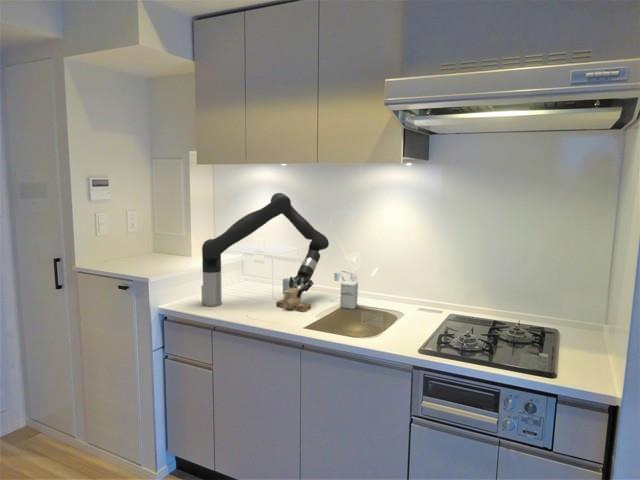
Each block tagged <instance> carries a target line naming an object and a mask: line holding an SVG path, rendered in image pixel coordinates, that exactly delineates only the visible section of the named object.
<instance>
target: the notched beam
mask: <svg viewBox="0 0 640 480" xmlns="http://www.w3.org/2000/svg"><path fill="white" fill-rule="evenodd" d="M275 305H276V307H278V308H282V309H287V310H293V311H297V312H301V313H305V312H308V311H310V310H311V309H312V304H311V303H307V302H306V303H304V302H301V304H300V305H297V306H295V307H293V308H291V309H290V308H285V307H284V298H283V299H280V300H277V301H276V303H275Z"/></svg>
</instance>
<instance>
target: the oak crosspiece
mask: <svg viewBox="0 0 640 480" xmlns="http://www.w3.org/2000/svg"><path fill="white" fill-rule="evenodd" d="M299 290H300V288H299V287H298V288H292V289H290V290H287V291H284V294H283V299H284V307H285V308H284V309H286V308H290V309H289V310H291V308H293V307H295V306H297V305H300V304H302V296H301V297H300V298H298V297H297V294H298V292H299Z"/></svg>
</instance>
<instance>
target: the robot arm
mask: <svg viewBox="0 0 640 480" xmlns="http://www.w3.org/2000/svg"><path fill="white" fill-rule="evenodd" d="M280 215H283V216H284V217H285V218H286V219H287V220H288V221H289V222H290V223H291V224H292V225H293V227H294V228H295V229H296V230H297V231H298V232H299V233H300V235H301V236H302V237H303V238H304V239H306V240H310V242H309V245H308V250H307V254H306V256H305V258H304V260H303V261H302V263H301V265H300V266H299V269H298V270H297V274H296V276H294V277H293V276H290V277H289V278H290V281H289V287H290V288H291V289H292V288H297V287H298V288H299V286H300V288H299V289H300V290H299V292H298V294H297V297H298V298H300V297H301V298H302V294H303V293H304V292H308V291H309V289H311V287H312V286H313V285H314V281H313V280H312V276H313V275H314V272H315V271H316V269H317V265H318V263H319V261H320V259H321V253H320V251H323V250H326V249H327V248H328V247H329V246H330V241H329V240H328V238H327V236H326V235H324V234H323V233H321V232H320V231H319V230H317V229H315V228H314V227H313V226H312V224H311V223H310V222H309V221H308V220H307V219H306V218H304V217H303V216H302V215H301V213H299V212H298V211H297V210H296V209H295V208H294V206H293V205H292V201H291V199H290V197H288V195H286V194H284V193H281V192H276V193H273V195H271V198H270V202H269V203H268V204H267V205H265V206H263V207H262V208H260V209H257V210H255V211H252V212H250V213H248V214H246V215H244V216H242V217H241V218H239V219H238V220H237V221H236V222H234V223H233V224H231V225H230V227H228V229H226V231H224V233H221V234H219V235H218V236H216V237H214V238H209V239H206V240H205V241H204V242H203V244H202V246H201V247H202V248H201V257H202V258H201V259H202V262H201V263H202V267H201V268H202V285H201V304H202V305H203V306H206V307H217V306H220V305H222V302H223V301H222V295H223V294H222V254H223V253H224V252H225V251H226V250H228V249H229V248H230V247H232V246H233V245H235V244H236V243H238V242H240V241H241V240H244V239H245V238H247V237H249V236H250V235H252V234H253V233H255V232H256V231H257V230H259V229H260V228H261V227H263V226H265V225H266V224H267V223H268V222H269V221H271V220H273V219H274V218H276V217H278V216H280ZM294 281H295V282H294ZM296 283H297V284H296ZM294 286H295V287H294Z"/></svg>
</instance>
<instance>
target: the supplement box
mask: <svg viewBox="0 0 640 480" xmlns="http://www.w3.org/2000/svg"><path fill="white" fill-rule="evenodd" d="M358 290H359V282H357V281H350V280H344V281H342V282H341V283H340V296H339V297H340V301H339V302H340V303H339V307H340V308H344V309H345V308H346V309H350V310H351V309H352V310H354V309H355V308H356V307H357V306H358V296H359V295H358V293H359V291H358ZM356 305H357V306H356Z"/></svg>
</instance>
